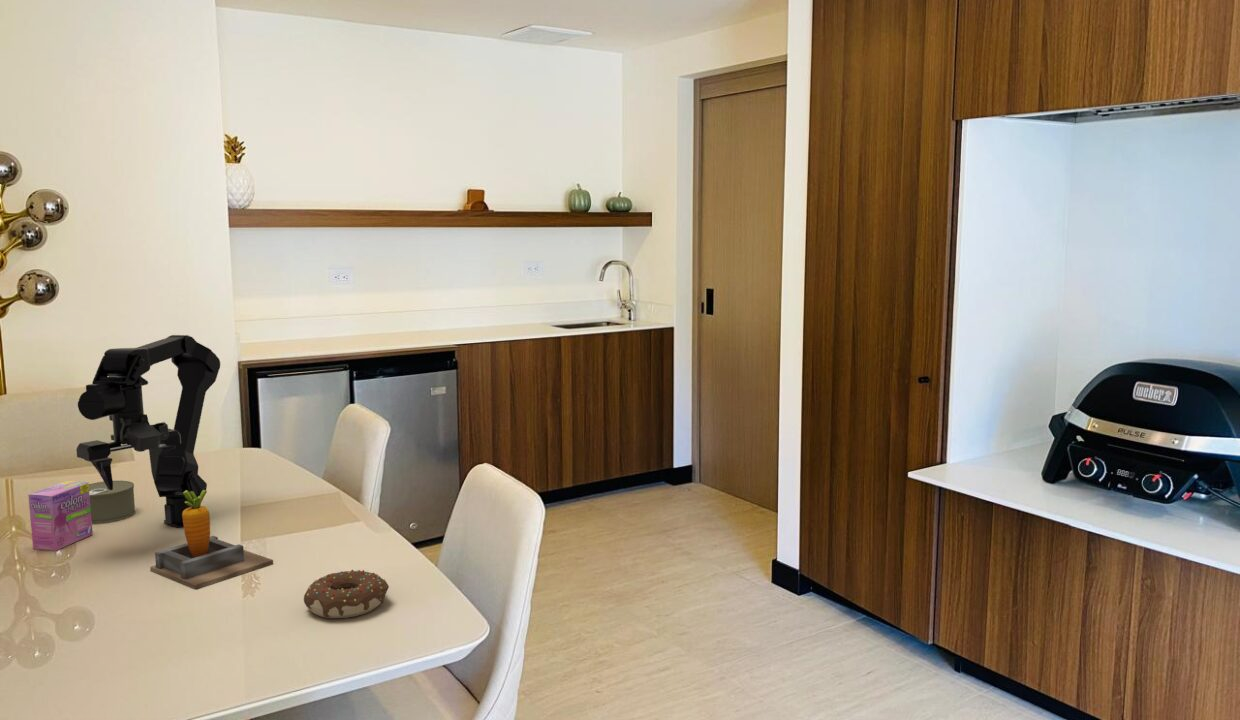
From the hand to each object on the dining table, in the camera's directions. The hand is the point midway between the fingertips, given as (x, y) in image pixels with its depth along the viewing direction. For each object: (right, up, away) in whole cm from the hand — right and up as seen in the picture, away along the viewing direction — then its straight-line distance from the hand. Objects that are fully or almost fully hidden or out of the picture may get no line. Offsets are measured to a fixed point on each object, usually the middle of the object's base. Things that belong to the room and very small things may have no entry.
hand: (133, 484), depth 193 cm
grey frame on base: (+21, -15, -11) cm, 28 cm away
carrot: (+19, -14, -11) cm, 26 cm away
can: (-18, -10, +22) cm, 30 cm away
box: (-17, -13, +4) cm, 22 cm away
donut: (+53, -18, -29) cm, 63 cm away
